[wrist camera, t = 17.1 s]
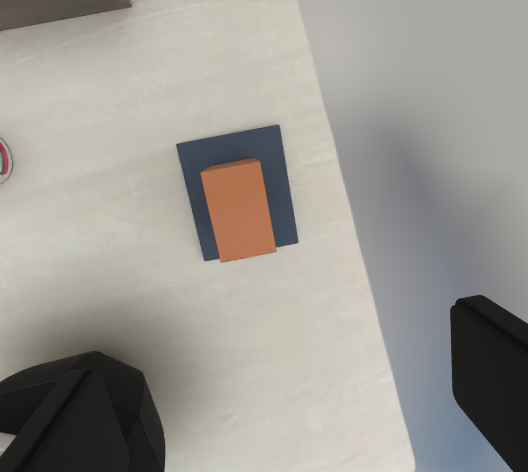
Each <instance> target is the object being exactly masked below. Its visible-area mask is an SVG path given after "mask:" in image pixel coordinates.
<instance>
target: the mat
mask: <svg viewBox="0 0 528 472" xmlns="http://www.w3.org/2000/svg"><path fill="white" fill-rule="evenodd" d="M176 145H177V149H178V154H179V158H180V162H181V166H182V170H183V174H184V178H185V182H186V187H187V191H188V195H189V199H190V203H191V207H192V211H193V216H194V220H195V224H196V228H197V232H198V236H199V240H200V244H201V249H202V253H203V257H204V261H209V260H214V259H219V258H220V257H219V253H218V248H217V244H216V239H215V235H214V231H213V226H212V222H211V218H210V213H209V209H208V205H207V200H206V196H205V192H204V187H203V183H202V179H201V174H200V173H201V172H202V171H204V170H206V169H207V168H209V167H210V166H213V165H218V164H223V163H229V162H234V161H239V160H244V159H249V158H256V159H257V160H259V161H260V164H261V169H262V175H263V180H264V186H265V191H266V196H267V202H268V207H269V213H270V218H271V224H272V229H273V235H274V240H275V246H276V247H280V246H285V245H291V244H296V243H298V237H297V231H296V225H295V219H294V212H293V206H292V200H291V194H290V188H289V182H288V176H287V170H286V164H285V157H284V151H283V145H282V139H281V133H280V127H279V125H275V126H270V127H264V128H259V129H254V130H249V131H243V132H238V133H233V134H227V135H222V136H217V137H212V138H206V139H201V140H196V141H191V142H185V143H180V144H176Z"/></svg>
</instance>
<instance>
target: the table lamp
mask: <svg viewBox="0 0 528 472" xmlns="http://www.w3.org/2000/svg"><path fill="white" fill-rule="evenodd" d="M85 368H92V369H93V370H94V371H95V372H99V373H100V374H101V376H102V378H103V381H104V384H105V387H106V389H107V392H108V395H109V398H110V401H111V404H112V406H113V409H114V412H115V415H116V418H117V421H118V424H119V426H120V429H121V432H122V435H123V438H124V441H125V443H126V446H127V449H128V453H129V466H128V470H127V472H164V469H165V438H164V432H163V427H162V424H161V420H160V418H159V415H158V412H157V410H156V407H155V404H154V402H153V399H152V396H151V394H150V391H149V388H148V386H147V383H146V380H145V378H144V375H143V373H142V372H141V371H139V370H137V369H135V368H133V367H131V366H129V365H127V364H124V363H122V362H120V361H118V360H116V359H114V358H112V357H109V356H107V355H105V354H103V353H101V352H98V351H93V352H89V353H85V354H81V355H76V356H72V357H68V358H64V359H60V360H56V361H52V362H48V363H43V364H40V365H36V366H33V367H30V368H27V369H25V370H22V371H20V372H18V373H16V374H14V375H12V376H10V377H8V378H6V379H4V380H3V381H1V382H0V456H1V455H2V454H3V452H4V451H5V450H6V448H7V447H8V446H9V445H10V443H11V442H12V441H13V439H14V438H15V437H16V435H17V434H18V433H19V432H20V430H21V429H22V428H23V426H24V425H25V424H26V423H27V421H28V420H29V419H30V417H31V416H32V415H33V414H34V412H35V411H36V410H37V408H38V407H39V406H40V404H41V403H42V402H43V401H44V399H45V398H46V397H47V395H48V394H49V393H50V392H51V390H52V389H53V388H54V386H55V385H56V384H57V382H58V381H59V380H60V379H61V377H62V376H63V375H64V374H65V373H66V372H69V371H74V370H80V369H85Z"/></svg>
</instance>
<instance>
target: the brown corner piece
mask: <svg viewBox="0 0 528 472" xmlns="http://www.w3.org/2000/svg"><path fill="white" fill-rule="evenodd" d="M128 7H132V4H131V0H0V31H2V30H7V29H13V28H18V27H24V26H29V25H35V24H40V23H46V22H51V21H57V20H62V19H68V18H73V17H79V16H84V15H89V14H95V13H100V12H106V11H111V10H117V9H122V8H128Z"/></svg>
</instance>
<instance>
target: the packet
mask: <svg viewBox="0 0 528 472" xmlns="http://www.w3.org/2000/svg"><path fill="white" fill-rule="evenodd" d="M200 174H201V179H202V183H203V187H204V192H205V196H206V200H207V205H208V209H209V213H210V218H211V222H212V226H213V231H214V235H215V239H216V244H217V248H218V253H219V257H220V261H221V263H222V262H227V261H232V260H237V259H242V258H248V257H253V256H258V255H263V254H268V253H273V252H276V246H275V240H274V235H273V229H272V224H271V218H270V213H269V207H268V202H267V196H266V191H265V186H264V180H263V175H262V169H261V164H260V161H259V160H257V159H256V158H249V159H244V160H239V161H234V162H229V163H223V164H218V165H213V166H210V167H209V168H207V169H206V170H204V171H202V172H201V173H200Z"/></svg>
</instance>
